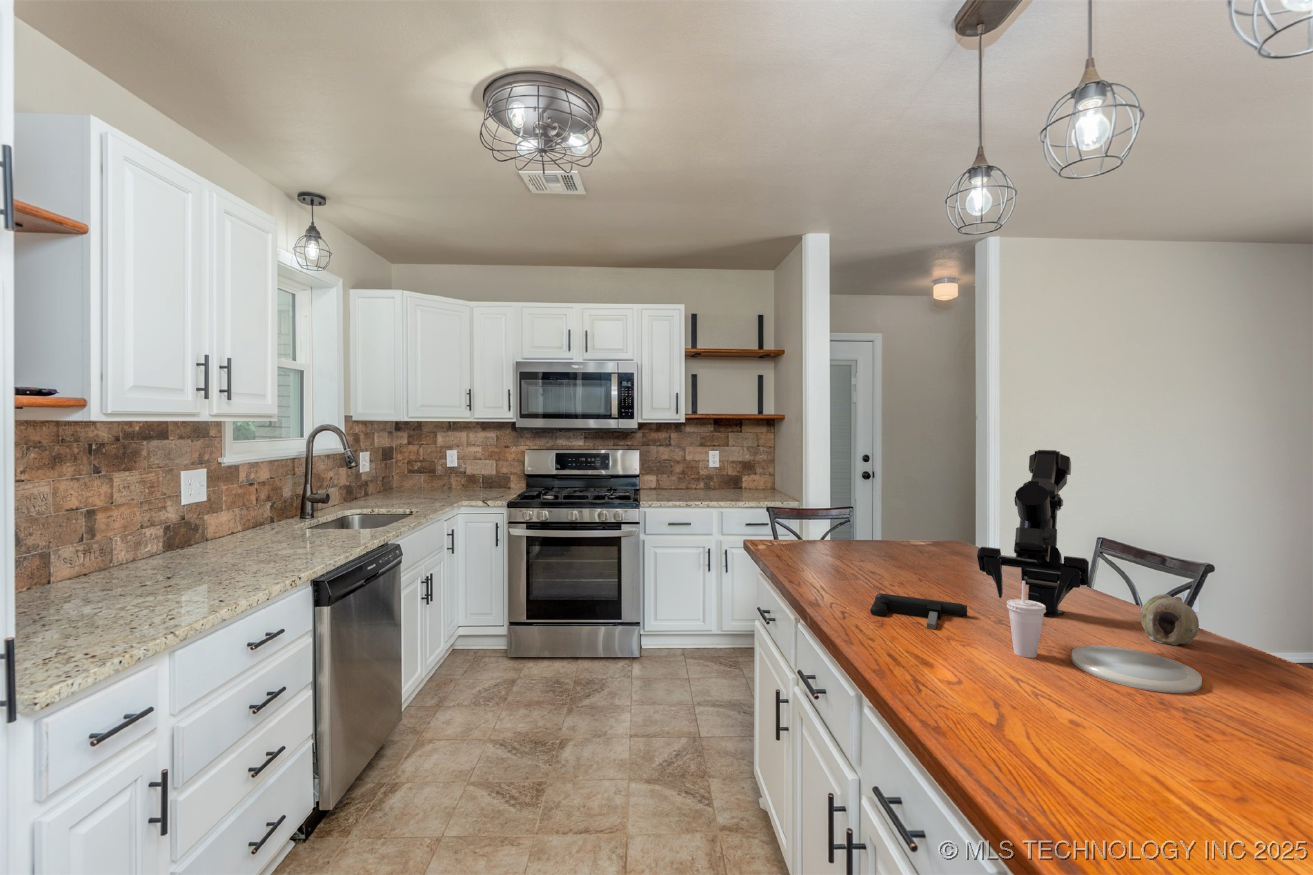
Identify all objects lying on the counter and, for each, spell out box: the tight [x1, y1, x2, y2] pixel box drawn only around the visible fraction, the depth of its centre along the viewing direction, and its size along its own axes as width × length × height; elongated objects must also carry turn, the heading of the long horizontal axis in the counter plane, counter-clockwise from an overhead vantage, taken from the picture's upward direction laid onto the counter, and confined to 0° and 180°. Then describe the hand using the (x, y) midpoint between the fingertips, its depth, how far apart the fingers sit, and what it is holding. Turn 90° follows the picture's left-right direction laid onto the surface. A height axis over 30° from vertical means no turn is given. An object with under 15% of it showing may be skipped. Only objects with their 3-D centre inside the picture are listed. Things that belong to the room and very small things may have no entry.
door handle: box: [869, 592, 968, 631], centre depth 136 cm, size 3×20×16 cm
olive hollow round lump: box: [1140, 593, 1200, 646], centre depth 121 cm, size 9×8×10 cm
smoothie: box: [1006, 580, 1046, 659], centre depth 113 cm, size 6×6×14 cm
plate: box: [1071, 644, 1203, 694], centre depth 106 cm, size 18×18×1 cm
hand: (1027, 601), depth 115 cm, fingers open, 9 cm apart
